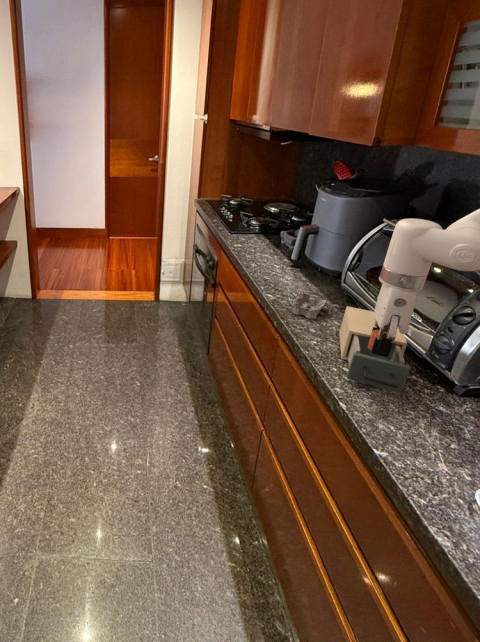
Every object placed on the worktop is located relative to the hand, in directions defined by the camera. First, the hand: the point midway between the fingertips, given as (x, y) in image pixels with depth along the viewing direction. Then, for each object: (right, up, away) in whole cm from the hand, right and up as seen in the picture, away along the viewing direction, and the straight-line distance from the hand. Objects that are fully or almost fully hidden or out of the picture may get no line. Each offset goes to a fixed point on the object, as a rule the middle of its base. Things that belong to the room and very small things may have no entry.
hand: (378, 348), depth 89 cm
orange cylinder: (0, 0, 0) cm, 0 cm away
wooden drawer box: (+5, -3, +11) cm, 13 cm away
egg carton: (0, +4, +30) cm, 31 cm away
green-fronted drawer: (-1, -7, +1) cm, 7 cm away
